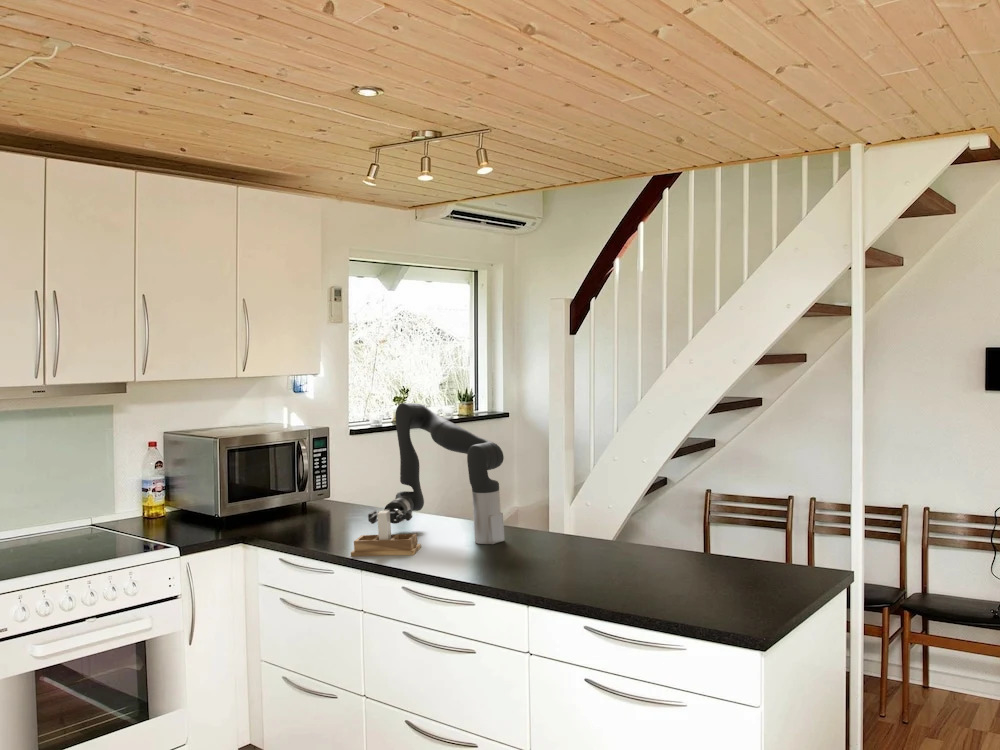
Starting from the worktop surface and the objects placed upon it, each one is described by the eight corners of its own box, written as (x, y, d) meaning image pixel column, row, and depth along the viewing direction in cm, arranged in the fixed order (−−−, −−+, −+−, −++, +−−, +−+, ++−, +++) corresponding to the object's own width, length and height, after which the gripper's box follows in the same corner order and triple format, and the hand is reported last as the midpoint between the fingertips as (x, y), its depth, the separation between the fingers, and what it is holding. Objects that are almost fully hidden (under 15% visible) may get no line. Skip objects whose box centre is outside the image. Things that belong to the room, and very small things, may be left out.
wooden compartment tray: (360, 548, 290) (359, 534, 290) (421, 547, 287) (420, 533, 287) (350, 556, 280) (350, 541, 280) (413, 554, 277) (412, 540, 277)
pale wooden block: (383, 546, 286) (380, 510, 285) (391, 546, 285) (389, 510, 285) (379, 549, 281) (377, 513, 281) (388, 549, 281) (386, 513, 280)
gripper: (377, 500, 300) (363, 509, 284) (416, 499, 298) (404, 508, 282) (378, 521, 300) (364, 532, 284) (418, 520, 298) (406, 531, 282)
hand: (384, 520), depth 283 cm, fingers open, 8 cm apart
